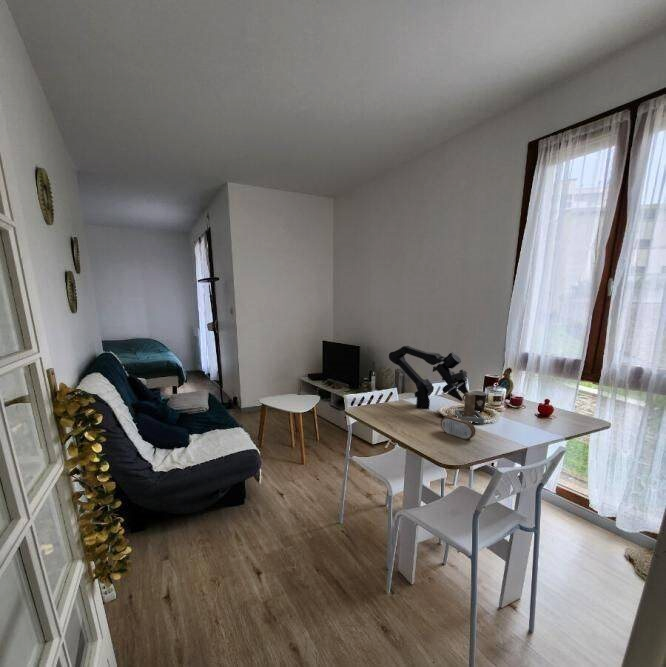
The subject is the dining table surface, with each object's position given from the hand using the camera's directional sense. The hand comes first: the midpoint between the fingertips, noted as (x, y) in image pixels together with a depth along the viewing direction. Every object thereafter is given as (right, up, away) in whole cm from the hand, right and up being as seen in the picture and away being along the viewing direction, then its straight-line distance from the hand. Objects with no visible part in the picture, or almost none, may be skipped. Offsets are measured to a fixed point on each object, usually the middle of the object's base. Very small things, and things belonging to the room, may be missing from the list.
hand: (465, 398), depth 163 cm
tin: (-12, -13, -20) cm, 27 cm away
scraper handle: (+1, -10, 0) cm, 10 cm away
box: (+2, -11, 0) cm, 11 cm away
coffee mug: (+11, -9, +14) cm, 20 cm away
